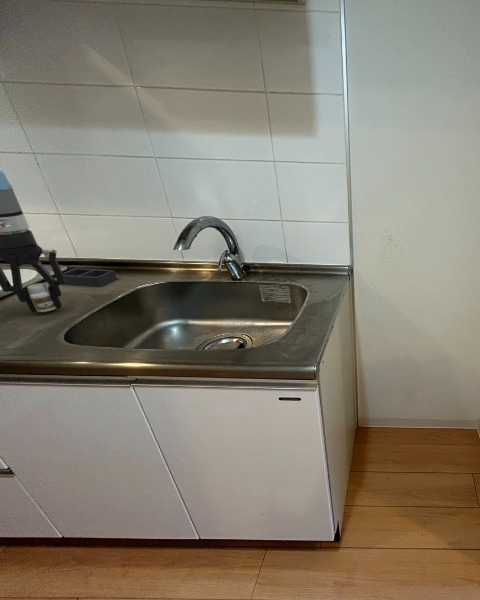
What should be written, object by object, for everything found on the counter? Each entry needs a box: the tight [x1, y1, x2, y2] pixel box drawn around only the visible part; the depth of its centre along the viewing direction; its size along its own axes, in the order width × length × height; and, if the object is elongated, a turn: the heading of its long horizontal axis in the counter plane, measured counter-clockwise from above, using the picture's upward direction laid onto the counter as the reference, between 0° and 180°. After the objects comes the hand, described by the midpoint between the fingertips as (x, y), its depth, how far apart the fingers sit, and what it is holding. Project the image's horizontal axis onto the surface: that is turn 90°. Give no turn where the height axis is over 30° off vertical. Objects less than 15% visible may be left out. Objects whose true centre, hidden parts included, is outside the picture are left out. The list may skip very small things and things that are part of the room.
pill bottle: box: [26, 282, 58, 313], centre depth 90 cm, size 4×4×8 cm
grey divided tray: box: [62, 267, 118, 288], centre depth 112 cm, size 7×14×4 cm, turn 90°
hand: (46, 308), depth 92 cm, fingers closed on pill bottle, 4 cm apart
